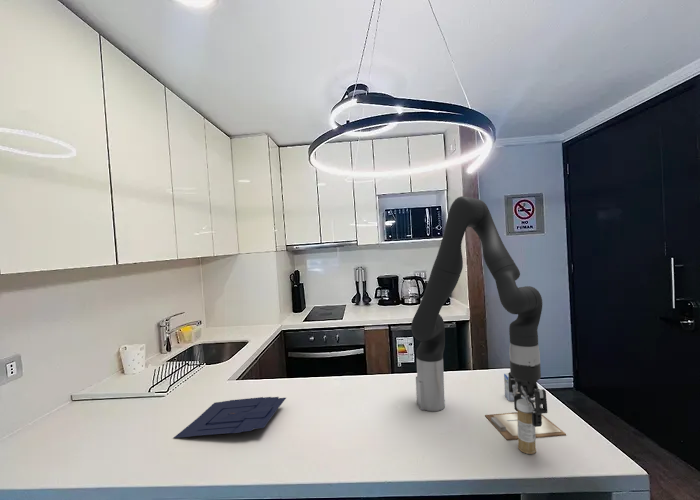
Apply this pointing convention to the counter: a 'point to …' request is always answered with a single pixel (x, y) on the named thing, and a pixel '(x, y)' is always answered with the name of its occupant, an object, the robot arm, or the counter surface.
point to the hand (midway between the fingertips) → (527, 417)
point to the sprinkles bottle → (525, 427)
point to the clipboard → (509, 426)
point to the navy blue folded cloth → (233, 416)
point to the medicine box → (507, 393)
